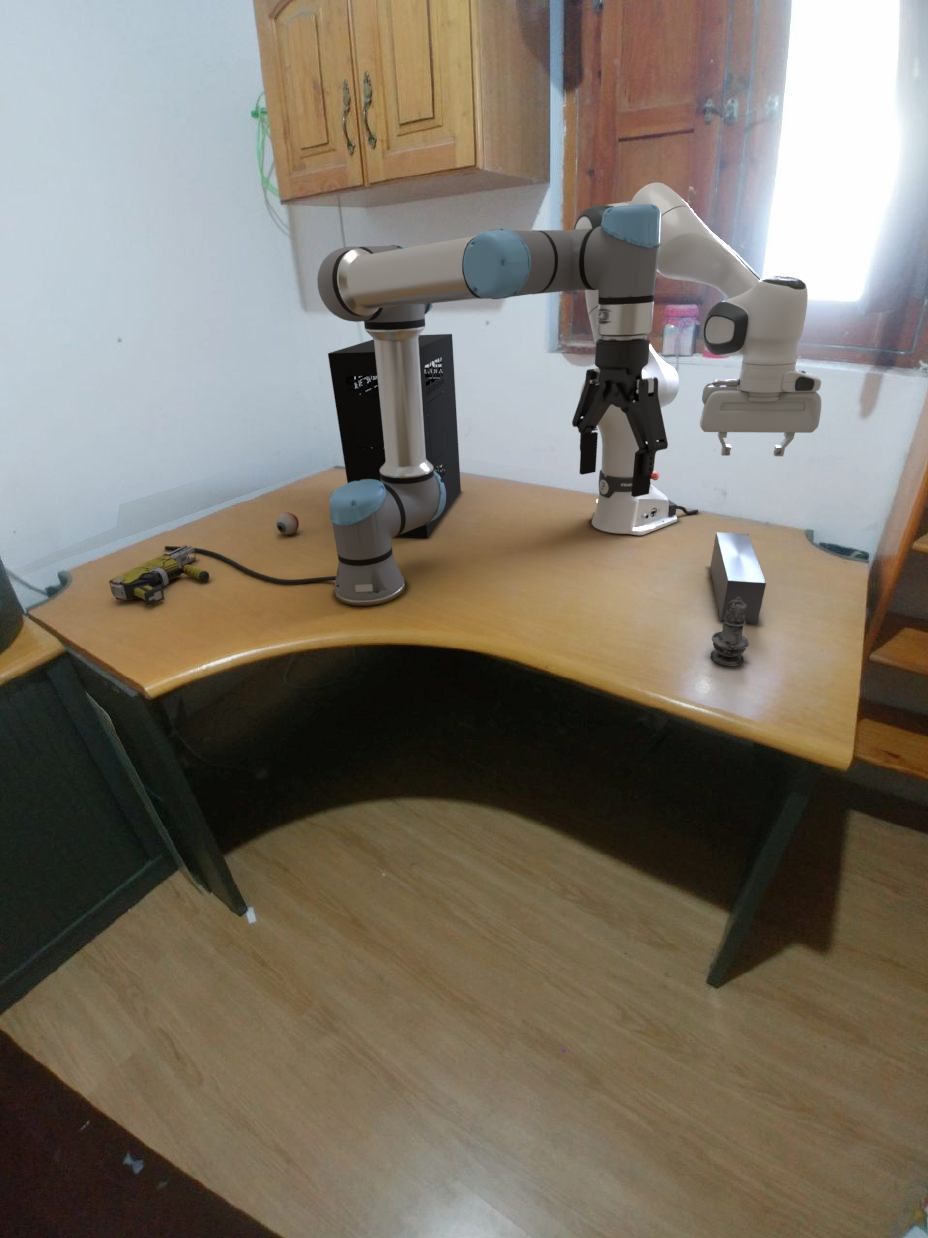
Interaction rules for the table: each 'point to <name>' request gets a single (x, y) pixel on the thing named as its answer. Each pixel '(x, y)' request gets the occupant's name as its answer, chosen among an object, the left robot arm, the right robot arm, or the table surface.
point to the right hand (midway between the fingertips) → (751, 455)
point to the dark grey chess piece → (731, 636)
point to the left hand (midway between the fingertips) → (612, 483)
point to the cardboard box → (365, 421)
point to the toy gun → (155, 576)
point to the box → (737, 574)
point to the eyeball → (287, 523)
